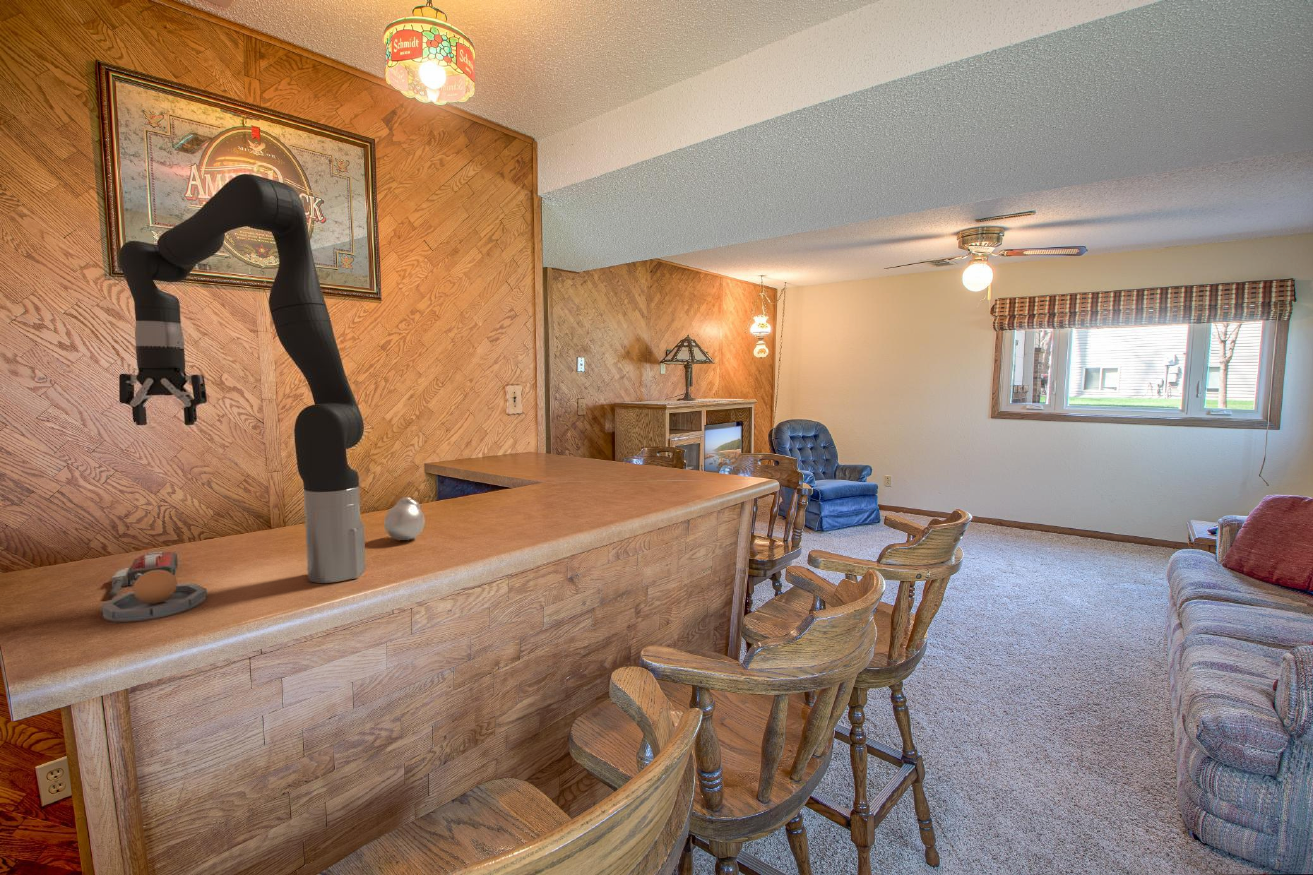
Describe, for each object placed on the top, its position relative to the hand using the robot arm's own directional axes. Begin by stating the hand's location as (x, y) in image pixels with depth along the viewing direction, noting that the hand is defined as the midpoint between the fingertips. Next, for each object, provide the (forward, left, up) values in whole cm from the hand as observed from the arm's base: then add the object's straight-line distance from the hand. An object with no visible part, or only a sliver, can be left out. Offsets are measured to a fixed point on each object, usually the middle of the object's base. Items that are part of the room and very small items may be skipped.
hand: (165, 425), depth 120 cm
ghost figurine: (-44, -7, -28) cm, 53 cm away
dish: (-12, +29, -28) cm, 42 cm away
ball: (-12, +29, -25) cm, 40 cm away
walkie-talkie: (-2, +14, -29) cm, 32 cm away
